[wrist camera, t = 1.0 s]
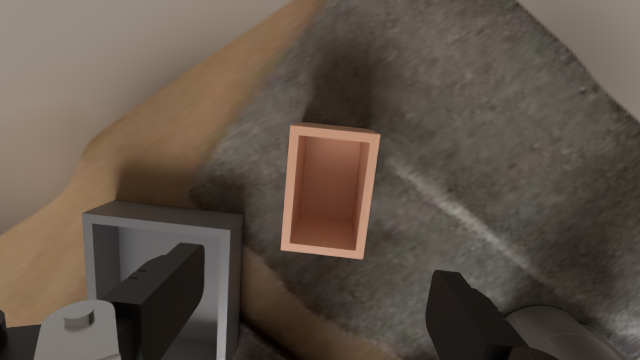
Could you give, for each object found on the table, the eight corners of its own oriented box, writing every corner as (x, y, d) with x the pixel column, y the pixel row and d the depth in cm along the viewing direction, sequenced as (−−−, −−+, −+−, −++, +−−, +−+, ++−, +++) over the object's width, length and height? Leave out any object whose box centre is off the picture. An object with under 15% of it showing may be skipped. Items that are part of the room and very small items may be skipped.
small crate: (369, 129, 28) (380, 134, 21) (356, 225, 30) (362, 259, 23) (301, 121, 28) (290, 125, 21) (293, 218, 30) (280, 250, 23)
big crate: (244, 214, 30) (230, 230, 26) (237, 346, 33) (224, 377, 29) (114, 200, 30) (82, 213, 26) (120, 331, 33) (92, 361, 29)
